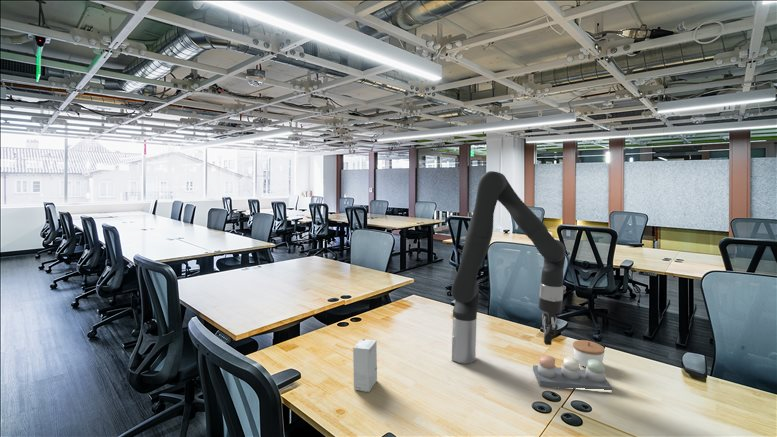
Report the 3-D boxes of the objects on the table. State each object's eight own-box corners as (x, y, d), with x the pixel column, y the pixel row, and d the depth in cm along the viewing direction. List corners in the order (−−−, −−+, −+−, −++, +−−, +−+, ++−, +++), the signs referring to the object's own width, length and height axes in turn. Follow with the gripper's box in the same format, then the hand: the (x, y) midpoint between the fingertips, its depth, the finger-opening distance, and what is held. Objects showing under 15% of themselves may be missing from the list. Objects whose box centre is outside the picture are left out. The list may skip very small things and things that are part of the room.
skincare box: (369, 393, 122) (369, 350, 120) (352, 389, 123) (352, 347, 122) (377, 380, 130) (377, 339, 128) (361, 377, 131) (361, 337, 130)
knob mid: (565, 370, 127) (565, 363, 127) (561, 363, 132) (561, 356, 132) (581, 371, 126) (581, 364, 126) (576, 364, 131) (576, 358, 131)
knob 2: (590, 372, 126) (590, 365, 125) (585, 365, 131) (585, 358, 130) (606, 373, 125) (606, 367, 125) (600, 366, 130) (600, 360, 129)
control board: (539, 386, 126) (540, 372, 126) (532, 370, 137) (533, 357, 137) (612, 393, 122) (613, 379, 122) (599, 376, 133) (600, 363, 132)
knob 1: (541, 367, 128) (541, 361, 128) (538, 361, 133) (538, 354, 133) (556, 369, 128) (556, 362, 127) (552, 362, 133) (553, 356, 132)
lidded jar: (568, 357, 148) (569, 334, 147) (597, 360, 146) (598, 337, 145) (576, 370, 137) (577, 346, 136) (607, 373, 135) (609, 349, 134)
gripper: (535, 290, 135) (532, 335, 137) (544, 301, 122) (540, 351, 124) (557, 292, 134) (553, 337, 136) (567, 303, 121) (564, 353, 123)
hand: (547, 344), depth 130 cm, fingers closed
